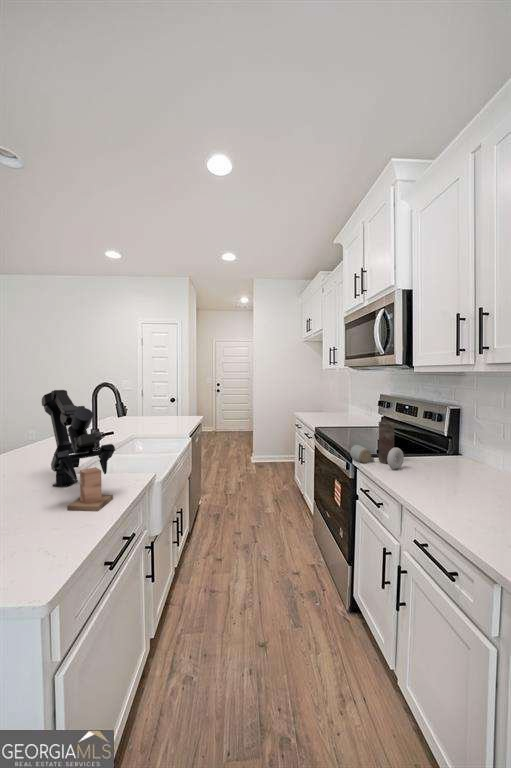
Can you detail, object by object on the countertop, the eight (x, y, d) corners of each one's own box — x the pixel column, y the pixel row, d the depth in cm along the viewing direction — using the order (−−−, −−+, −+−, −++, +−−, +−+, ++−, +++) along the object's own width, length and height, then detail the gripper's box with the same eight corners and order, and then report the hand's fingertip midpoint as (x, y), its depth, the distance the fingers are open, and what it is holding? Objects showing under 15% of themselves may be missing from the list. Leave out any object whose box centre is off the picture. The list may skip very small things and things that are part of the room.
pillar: (80, 500, 110) (79, 470, 109) (96, 496, 113) (95, 467, 113) (85, 504, 106) (85, 473, 106) (101, 500, 110) (101, 470, 109)
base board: (84, 498, 115) (84, 494, 115) (112, 499, 115) (112, 494, 114) (67, 510, 105) (67, 505, 105) (97, 511, 105) (97, 506, 104)
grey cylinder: (359, 464, 159) (360, 448, 159) (349, 459, 167) (350, 444, 166) (377, 462, 162) (378, 447, 162) (367, 458, 170) (367, 443, 170)
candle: (375, 459, 167) (376, 420, 166) (389, 459, 167) (390, 420, 167) (382, 464, 159) (383, 423, 158) (397, 464, 160) (397, 422, 159)
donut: (398, 466, 155) (398, 445, 155) (405, 468, 153) (405, 446, 152) (385, 469, 150) (385, 448, 150) (392, 471, 147) (392, 449, 147)
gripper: (53, 427, 105) (64, 469, 98) (112, 421, 119) (126, 457, 111) (47, 447, 111) (57, 488, 104) (104, 439, 125) (116, 475, 117)
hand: (91, 476), depth 109 cm, fingers open, 9 cm apart
